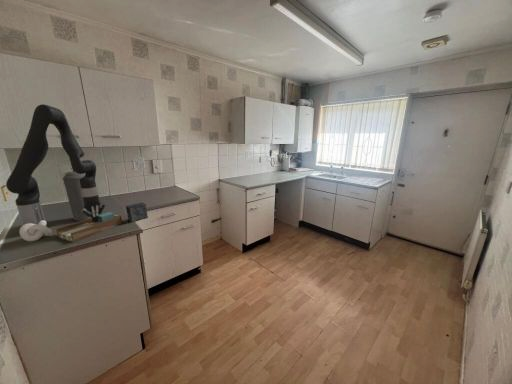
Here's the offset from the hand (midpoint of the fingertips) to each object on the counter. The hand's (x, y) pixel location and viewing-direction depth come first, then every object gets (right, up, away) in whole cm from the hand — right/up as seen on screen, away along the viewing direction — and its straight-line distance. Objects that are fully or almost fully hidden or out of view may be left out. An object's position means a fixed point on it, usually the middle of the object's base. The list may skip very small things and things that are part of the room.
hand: (95, 222), depth 126 cm
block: (+3, 0, +5) cm, 6 cm away
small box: (+17, -1, +15) cm, 23 cm away
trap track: (-1, -5, -1) cm, 5 cm away
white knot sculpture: (-22, -7, -11) cm, 26 cm away
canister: (-20, 0, +16) cm, 26 cm away
